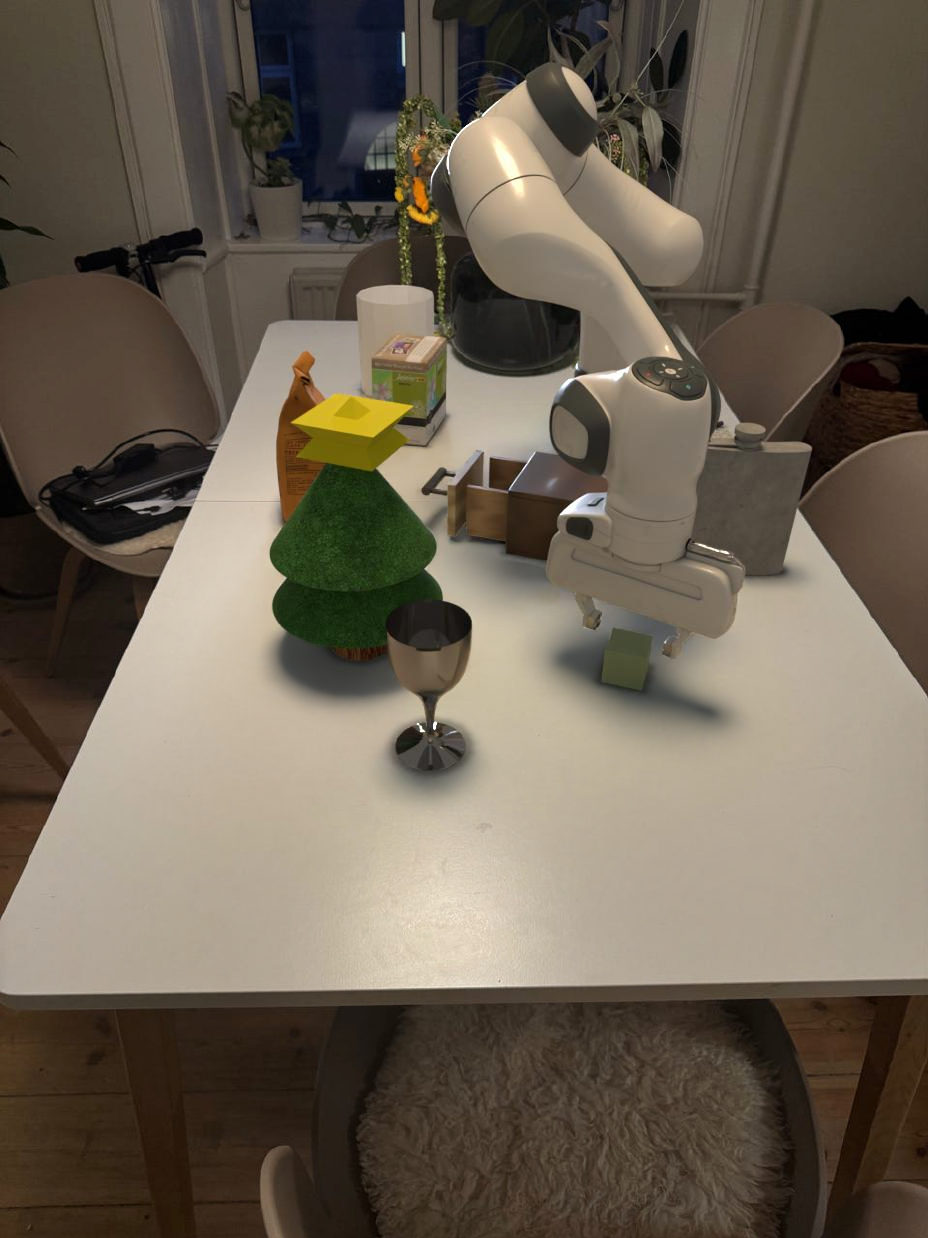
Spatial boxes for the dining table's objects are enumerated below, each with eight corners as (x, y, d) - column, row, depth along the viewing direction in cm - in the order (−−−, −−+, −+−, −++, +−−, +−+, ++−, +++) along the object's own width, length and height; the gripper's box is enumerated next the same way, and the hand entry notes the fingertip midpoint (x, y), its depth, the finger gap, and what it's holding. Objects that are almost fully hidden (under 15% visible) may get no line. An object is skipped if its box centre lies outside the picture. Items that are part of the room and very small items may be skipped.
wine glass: (390, 721, 91) (384, 600, 83) (466, 718, 92) (468, 597, 83) (391, 775, 85) (385, 650, 76) (473, 771, 85) (476, 646, 77)
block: (609, 659, 101) (613, 627, 98) (648, 667, 99) (653, 634, 97) (601, 682, 97) (605, 649, 95) (641, 690, 96) (646, 657, 93)
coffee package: (351, 488, 137) (341, 346, 124) (345, 526, 127) (334, 376, 114) (287, 488, 136) (271, 346, 124) (275, 526, 126) (257, 376, 114)
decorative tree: (330, 585, 113) (309, 353, 96) (468, 618, 107) (472, 377, 90) (245, 668, 98) (203, 412, 82) (399, 712, 93) (388, 445, 76)
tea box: (428, 447, 150) (427, 361, 142) (372, 442, 152) (367, 356, 144) (447, 415, 163) (447, 334, 154) (395, 410, 164) (392, 330, 156)
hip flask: (778, 563, 119) (813, 422, 108) (785, 578, 116) (821, 435, 104) (660, 556, 120) (682, 416, 109) (662, 571, 117) (685, 429, 106)
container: (371, 374, 181) (367, 283, 171) (440, 378, 180) (440, 286, 169) (354, 398, 169) (349, 302, 159) (428, 403, 168) (427, 306, 158)
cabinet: (505, 553, 120) (508, 490, 115) (531, 511, 131) (535, 450, 126) (618, 574, 116) (626, 509, 111) (635, 528, 127) (644, 466, 122)
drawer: (414, 529, 124) (413, 479, 120) (444, 493, 134) (444, 445, 129) (547, 553, 119) (551, 501, 114) (569, 513, 129) (573, 464, 124)
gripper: (759, 543, 85) (733, 658, 93) (572, 490, 94) (562, 598, 102) (737, 571, 81) (711, 689, 89) (543, 512, 90) (535, 623, 98)
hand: (630, 640), depth 95 cm, fingers open, 8 cm apart
